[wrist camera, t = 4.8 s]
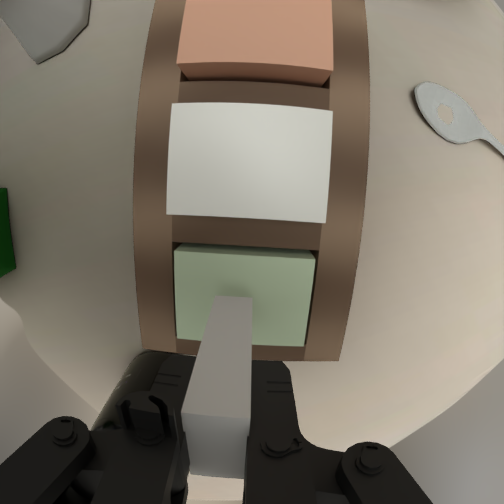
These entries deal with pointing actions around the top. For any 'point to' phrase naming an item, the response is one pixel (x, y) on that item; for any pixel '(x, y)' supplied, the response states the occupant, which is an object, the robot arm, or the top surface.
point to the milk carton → (5, 237)
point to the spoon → (464, 117)
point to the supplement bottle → (130, 387)
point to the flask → (45, 24)
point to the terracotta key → (257, 41)
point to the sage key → (245, 288)
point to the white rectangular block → (249, 161)
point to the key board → (250, 229)
